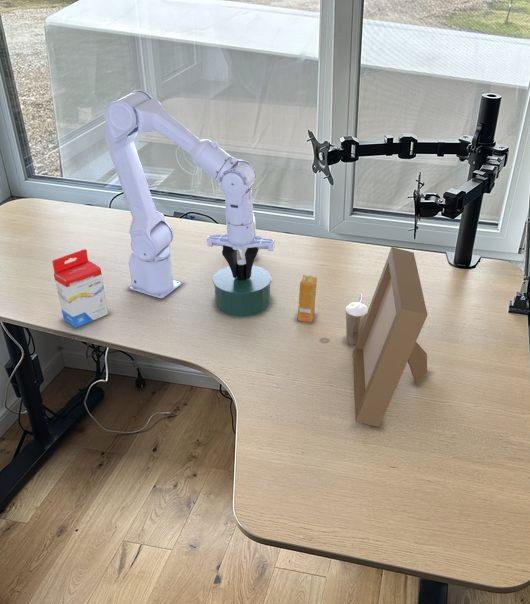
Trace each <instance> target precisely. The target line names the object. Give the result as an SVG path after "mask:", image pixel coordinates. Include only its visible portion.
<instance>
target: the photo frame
mask: <svg viewBox="0 0 530 604" xmlns="http://www.w3.org/2000/svg"><path fill="white" fill-rule="evenodd" d="M420 278H421V277H420V273H419V269H418V265H417V260H416V256H415V252H414V251H409V250H405V249H401V248H398V247H394V246H391V247H390V250H389V252H388V255H387V258H386V261H385V263H384V266H383V269H382V271H381V274H380V277H379V280H378V282H377V285H376V287H375V290H374V293H373V296H372V299H371V301H370V304H369V307H368V312H367V314H366V317H365V320H364V323H363V325H362V328H361V331H360V333H359V336H358V339H357V342H356V344H355V345H354V346H353V350H352V363H353V388H354V410H355V411H354V414H355V422H356V423H359V424H364V425H369V426H374V427H378V428H379V427H380V425H381V423H382V421H383V419H384V417H385V415H386V412H387V409H388V407H389V405H390V403H391V400H392V398H393V395H394V394H395V391H396V389H397V387H398V384H399V382H400V380H401V377H402V375H403V373H404V371H405V368H406V366H407V363H408V366H409V369H410V372H411V375H412V378H413V380H414V384H418V383H419V382H421V381H422V379H423V378H425V376H426V375H427V374H428V354H427V352H426V351H425V350H424V349H423V348H422V347H421V346H420V344H419V343H418V342H417V341H418V338H419V336H420V334H421V331H422V329H423V327H424V325H425V322H426V320H427V318H428V311H427V306H426V302H425V297H424V293H423V288H422V283H421V279H420Z"/></svg>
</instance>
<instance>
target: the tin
mask: <svg viewBox="0 0 530 604" xmlns="http://www.w3.org/2000/svg"><path fill="white" fill-rule="evenodd" d="M213 286H214V285H213ZM214 301H215V306H216V308H217V309H218V310H219V312H221V313H223V314H225V315H228V316H232V317H238V318H239V317H241V318H245V317H252V316H256V315H259V314H262V313H263V312H264V311H266V310H267V309H268V308H269V307H270V303H271V284H270V285H269V286H268V287H267V288H266V289H264V290H262V291H260V292H257V293H254V294H248V295H234V294H228V293H225V292H222V291H220V290H219V289H217V288H216V287H215V286H214Z"/></svg>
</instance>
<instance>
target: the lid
mask: <svg viewBox="0 0 530 604" xmlns="http://www.w3.org/2000/svg"><path fill="white" fill-rule="evenodd" d="M236 271H237V277H236V278H233V274H232V271H231V268H230V266H229V265H228V266H225V267H223V268H221V269H219V270H217V271H216V272H215V273H214V274H213V277H212V284H213V286H215V287H216V288H217V289H219V290H220V291H222V292H225V293H228V294H234V295H248V294H254V293H257V292H260V291H262V290H264V289H266V288H267V287H268V286H269V285H270V286H271V283H272V276H271V273H270V271H268V270H266V269H264V268H263V267H261V266H257V265H254V264H253V266H252V271H251V277H250V279H246V261H245V260H242V259H240V260H237V262H236ZM215 287H214V288H215Z"/></svg>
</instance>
